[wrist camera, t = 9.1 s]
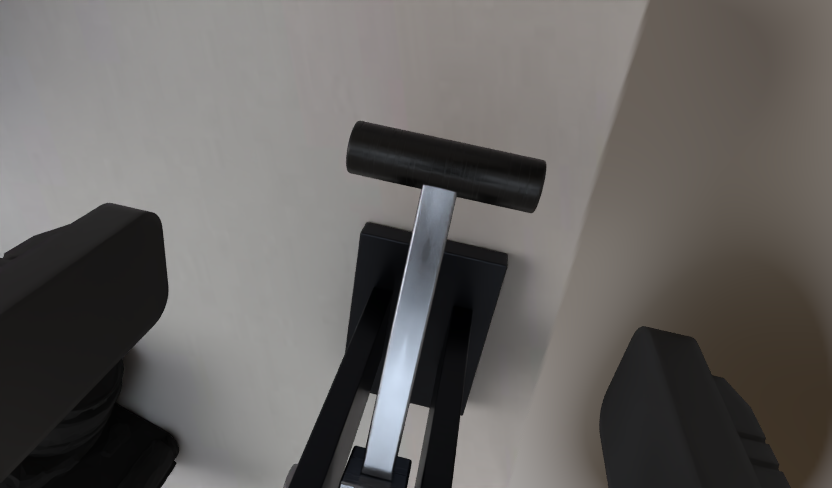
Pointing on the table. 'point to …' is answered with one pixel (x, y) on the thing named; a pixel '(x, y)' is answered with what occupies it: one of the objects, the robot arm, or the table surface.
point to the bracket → (438, 365)
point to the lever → (423, 262)
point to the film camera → (99, 447)
